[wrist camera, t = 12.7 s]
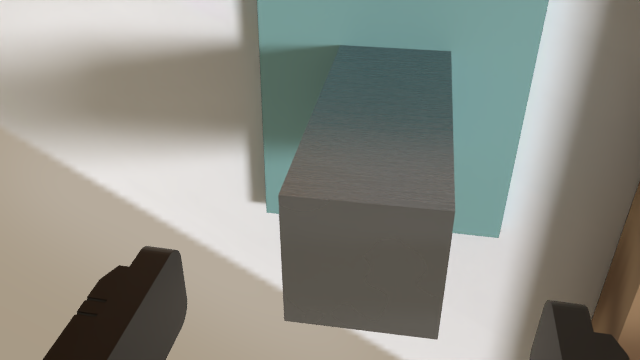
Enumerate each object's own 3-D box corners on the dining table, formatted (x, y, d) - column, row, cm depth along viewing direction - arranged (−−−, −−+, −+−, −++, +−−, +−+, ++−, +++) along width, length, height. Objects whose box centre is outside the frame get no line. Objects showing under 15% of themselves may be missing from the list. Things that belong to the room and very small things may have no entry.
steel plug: (340, 45, 22) (278, 195, 14) (451, 51, 22) (455, 211, 14) (338, 141, 25) (284, 320, 16) (439, 149, 24) (437, 339, 16)
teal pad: (259, -82, 21) (253, -79, 21) (558, -70, 20) (562, -65, 19) (271, 202, 28) (266, 212, 27) (497, 226, 26) (498, 237, 26)
